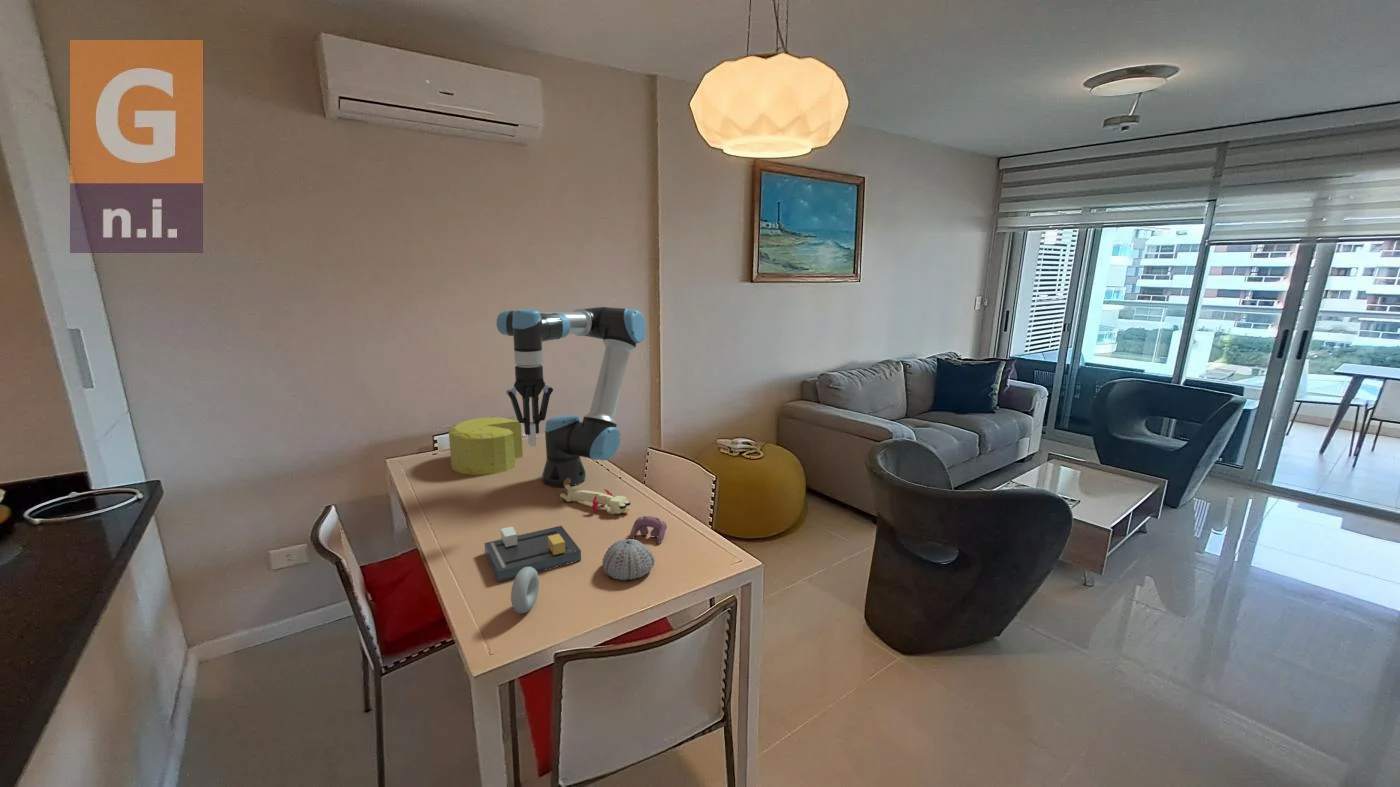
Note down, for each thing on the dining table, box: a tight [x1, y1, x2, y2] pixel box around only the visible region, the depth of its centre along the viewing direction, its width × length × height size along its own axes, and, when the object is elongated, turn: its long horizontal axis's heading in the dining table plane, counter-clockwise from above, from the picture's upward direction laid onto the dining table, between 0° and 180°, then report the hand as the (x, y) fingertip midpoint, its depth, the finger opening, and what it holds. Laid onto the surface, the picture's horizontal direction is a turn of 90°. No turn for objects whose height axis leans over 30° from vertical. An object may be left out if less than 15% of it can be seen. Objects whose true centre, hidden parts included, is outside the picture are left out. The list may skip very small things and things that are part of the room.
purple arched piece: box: [629, 515, 667, 543], centre depth 161 cm, size 10×5×7 cm, turn 73°
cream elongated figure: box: [558, 478, 632, 515], centre depth 179 cm, size 10×9×25 cm
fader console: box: [484, 525, 582, 583], centre depth 149 cm, size 21×16×3 cm
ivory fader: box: [500, 526, 518, 547], centre depth 150 cm, size 3×5×3 cm, turn 32°
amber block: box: [548, 534, 565, 555], centre depth 146 cm, size 3×5×3 cm, turn 32°
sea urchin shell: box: [601, 538, 656, 581], centre depth 143 cm, size 13×14×8 cm
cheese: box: [448, 416, 524, 476], centre depth 214 cm, size 26×26×15 cm
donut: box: [510, 567, 540, 614], centre depth 126 cm, size 10×4×10 cm, turn 173°
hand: (532, 444), depth 163 cm, fingers closed
